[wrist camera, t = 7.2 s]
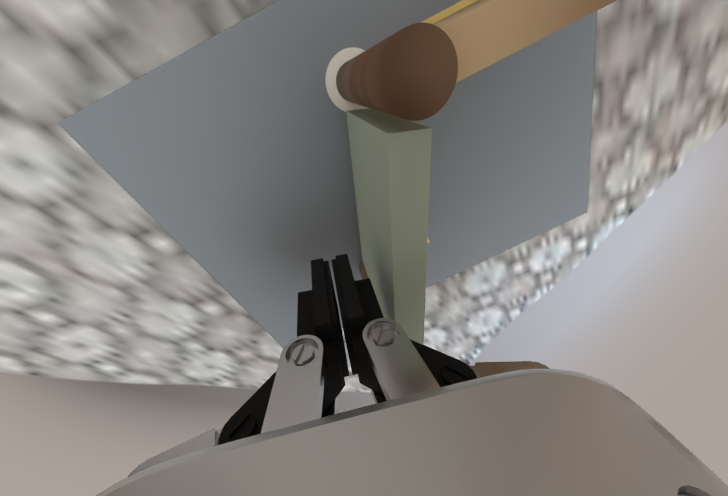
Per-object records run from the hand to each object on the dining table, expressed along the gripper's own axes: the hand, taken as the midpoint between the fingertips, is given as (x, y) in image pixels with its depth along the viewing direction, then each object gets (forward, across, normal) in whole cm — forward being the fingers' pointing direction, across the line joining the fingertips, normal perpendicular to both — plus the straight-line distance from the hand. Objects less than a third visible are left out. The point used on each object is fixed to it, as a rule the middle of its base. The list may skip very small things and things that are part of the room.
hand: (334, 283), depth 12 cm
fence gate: (+5, -3, -1) cm, 6 cm away
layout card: (+6, -4, -2) cm, 8 cm away
